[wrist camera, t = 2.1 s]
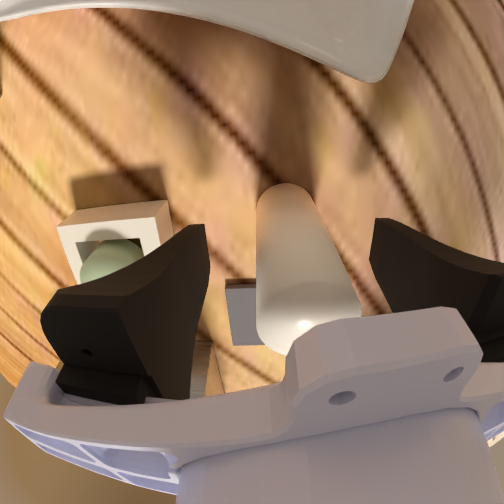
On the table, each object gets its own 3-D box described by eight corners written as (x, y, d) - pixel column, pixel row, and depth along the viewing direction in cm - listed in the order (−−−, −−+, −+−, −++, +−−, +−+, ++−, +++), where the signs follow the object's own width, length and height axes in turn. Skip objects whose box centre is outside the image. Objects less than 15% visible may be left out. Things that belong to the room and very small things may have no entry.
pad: (310, 281, 17) (311, 285, 17) (305, 338, 19) (305, 342, 19) (225, 284, 17) (225, 289, 17) (233, 341, 20) (233, 345, 19)
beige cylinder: (315, 182, 14) (370, 277, 7) (313, 236, 15) (351, 352, 9) (254, 184, 14) (253, 283, 7) (257, 238, 16) (258, 359, 9)
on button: (141, 235, 14) (127, 255, 12) (156, 288, 16) (145, 312, 14) (88, 238, 14) (71, 258, 12) (106, 288, 16) (92, 310, 14)
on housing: (167, 199, 14) (154, 216, 13) (186, 292, 17) (179, 316, 16) (75, 210, 15) (56, 227, 13) (103, 291, 18) (90, 313, 16)
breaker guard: (212, 341, 20) (203, 401, 15) (225, 397, 24) (221, 446, 20) (74, 333, 20) (50, 378, 16) (109, 387, 24) (95, 427, 20)
